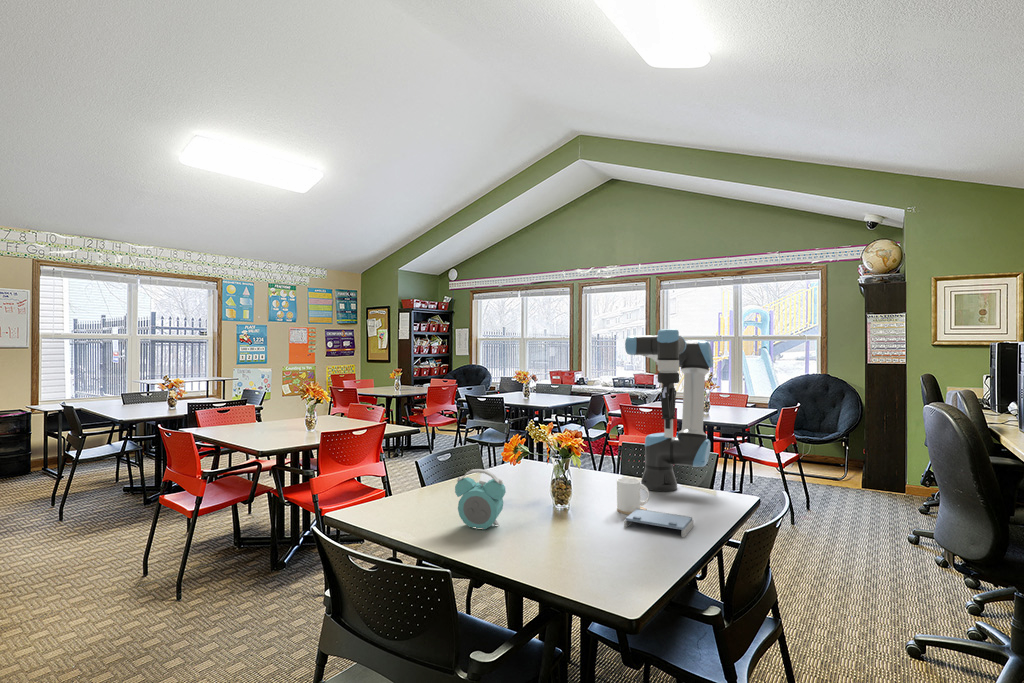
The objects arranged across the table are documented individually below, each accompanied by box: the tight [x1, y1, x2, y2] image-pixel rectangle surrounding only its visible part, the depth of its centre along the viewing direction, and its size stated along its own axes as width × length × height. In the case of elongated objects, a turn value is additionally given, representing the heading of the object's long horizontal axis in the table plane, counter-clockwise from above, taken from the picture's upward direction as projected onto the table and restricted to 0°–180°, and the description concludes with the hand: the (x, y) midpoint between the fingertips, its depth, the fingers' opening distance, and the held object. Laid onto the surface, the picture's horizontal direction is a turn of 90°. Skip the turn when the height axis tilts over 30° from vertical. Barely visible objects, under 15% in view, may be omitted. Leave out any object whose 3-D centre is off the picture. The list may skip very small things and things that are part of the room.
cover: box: [625, 509, 693, 530], centre depth 186 cm, size 12×19×2 cm, turn 58°
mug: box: [616, 477, 650, 512], centre depth 204 cm, size 9×12×11 cm
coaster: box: [616, 505, 648, 516], centre depth 204 cm, size 11×11×1 cm
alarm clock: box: [454, 468, 507, 530], centre depth 187 cm, size 17×10×20 cm, turn 74°
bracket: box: [623, 518, 694, 538], centre depth 186 cm, size 13×20×2 cm, turn 59°
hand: (668, 437), depth 197 cm, fingers closed
